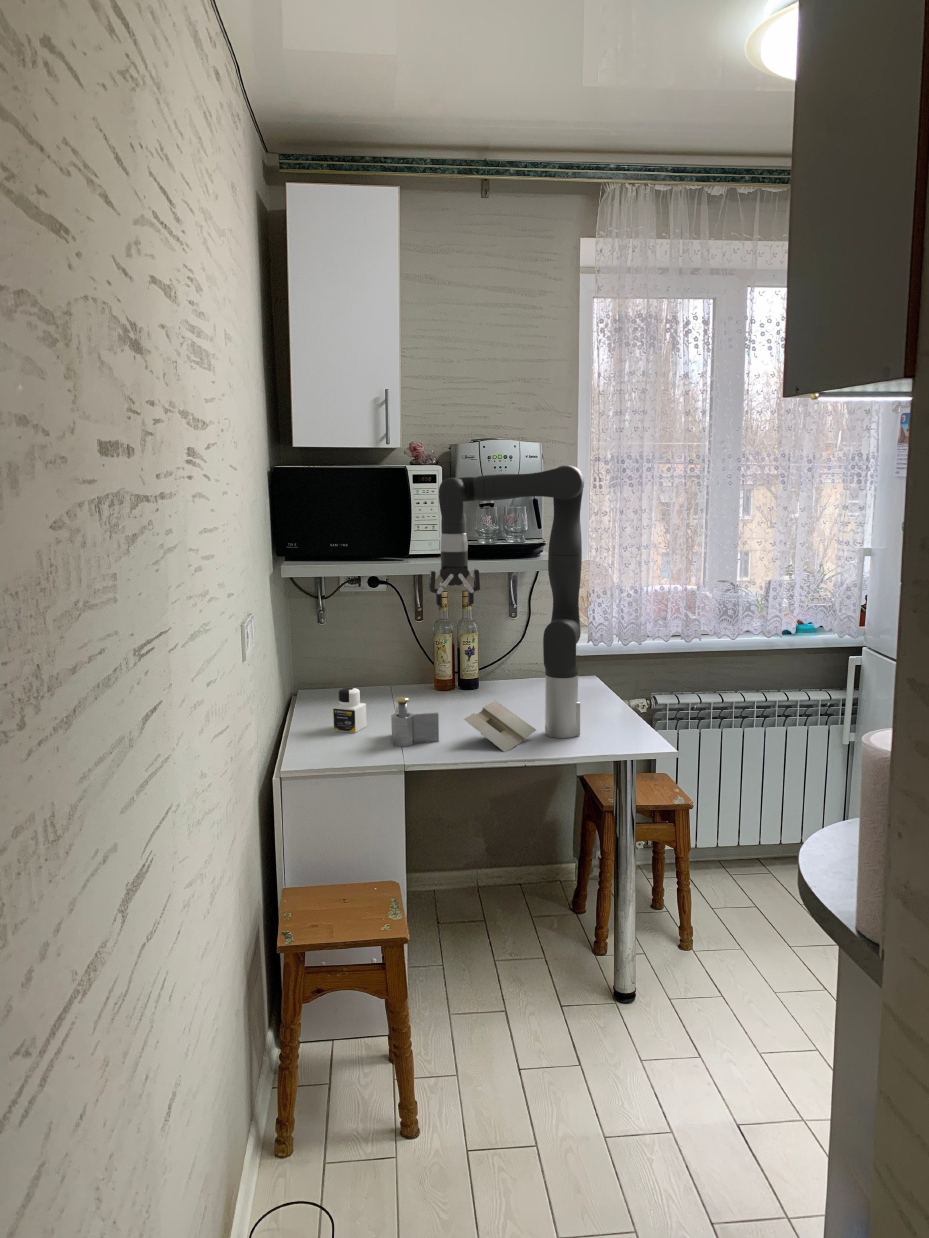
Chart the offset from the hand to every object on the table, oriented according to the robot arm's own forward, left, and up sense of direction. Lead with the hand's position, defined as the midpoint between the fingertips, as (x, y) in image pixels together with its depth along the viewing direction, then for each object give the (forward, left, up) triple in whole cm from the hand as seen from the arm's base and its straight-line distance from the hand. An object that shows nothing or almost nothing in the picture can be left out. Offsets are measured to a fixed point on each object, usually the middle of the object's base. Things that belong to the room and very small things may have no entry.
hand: (454, 606), depth 260 cm
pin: (+17, +10, -36) cm, 41 cm away
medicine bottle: (+30, -8, -36) cm, 48 cm away
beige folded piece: (-10, +14, -36) cm, 40 cm away
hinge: (+14, +7, -36) cm, 39 cm away
